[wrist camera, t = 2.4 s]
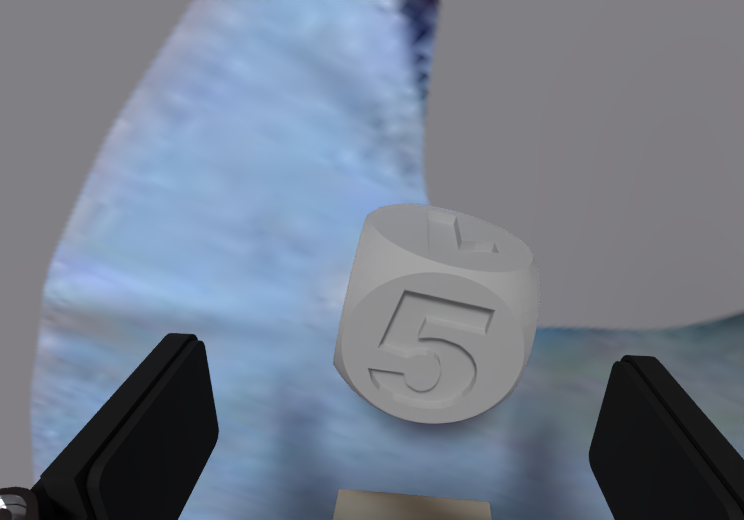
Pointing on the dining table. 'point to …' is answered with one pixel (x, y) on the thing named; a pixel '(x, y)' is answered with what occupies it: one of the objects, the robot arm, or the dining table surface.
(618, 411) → the robot arm
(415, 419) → the die
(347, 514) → the tower base
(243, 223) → the dining table surface
